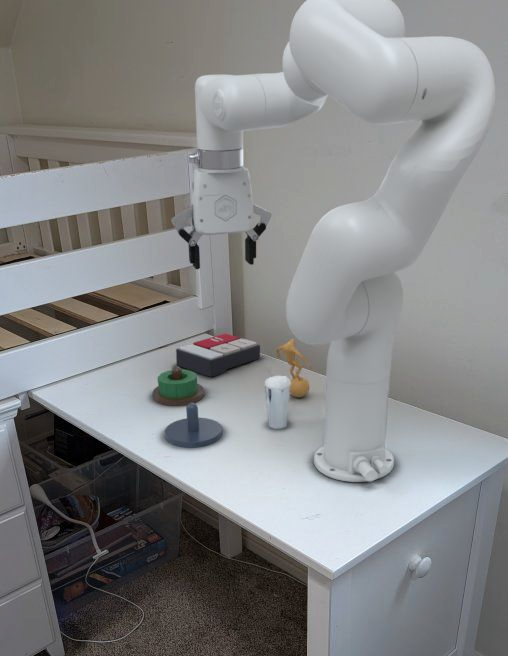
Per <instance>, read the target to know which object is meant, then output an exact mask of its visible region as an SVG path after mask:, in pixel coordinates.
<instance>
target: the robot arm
mask: <svg viewBox="0 0 508 656" xmlns="http://www.w3.org/2000/svg"><path fill="white" fill-rule="evenodd" d="M405 35H406V23H405V18H404V15H403V14H402V11H401V10H400V8H399V7H398V5H397V4H396V3H395V2H394V1H393V0H305V1H304V2H303V3H302V4H301V5H300V7H299V8H298V9H297V11H296V12H295V14H294V17H293V18H292V21H291V24H290V27H289V36H288V41H287V44H286V46H285V47H284V49H283V53H282V59H281V65H282V66H281V67H282V71H279V72H274V73H273V72H270V73H269V72H268V73H250V74H249V73H248V74H238V75H236V74H235V75H234V74H224V73H223V74H222V73H221V74H205V75H201V76H199V77H198V78H197V79H196V81H195V83H194V103H195V125H196V127H195V129H196V130H195V131H196V149H195V152H193V153H189V154H188V162H189V164H195V165H196V166H197V168H195V169H194V170H193V175H192V176H193V177H192V184H191V201H190V202H191V203H190V204H191V205H190V206H189V207H187V208H186V209H184V210H182V211H181V212H179V213H178V214H176V215H174V216H173V217H172V218H171V223H172V225H173V227H174V229H175V230H176V232H177V234H178V236H180V237H181V238H182V239H183V240H184V241H185V242H186V243H187V244H188V260H189V261H188V262H189V264H191V265H192V266H193V268H194V269H195V270H200V269H201V257H200V255H201V254H200V246H199V245H198V242H199V240H200V239H201V238H202V237H203V235H205V236H213V235H214V236H215V235H227V234H240V233H245V234H246V237H245V239H244V260H245V262H246V263H247V264H249V265H254V263H255V262H254V261H255V259H256V258H257V241H259V238H260V236H261V235H262V234H263V233H264V232H265V231H266V229H267V226H268V225H269V223H270V220H271V218H272V213H271V212H270V211H269V210H266V209H264V208H263V207H261V206H259V205H256V204H255V203H254V199H253V191H252V182H251V176H250V175H251V174H250V170H249V168H248V167H245V166H244V132H247V131H254V130H264V129H276V128H283V127H288V126H290V125H292V124H295V123H297V122H299V121H301V120H304V119H306V118H308V117H310V116H312V115H314V114H315V113H316V114H317V112H319V111H320V110H321V109H322V107H323V106H324V105H325V103H326V101H327V99H328V97H330V98H331V99H333V100H334V101H335V102H337V103H338V104H339V105H340V106H341V107H343V109H345V110H347V111H348V113H350V114H351V115H353V116H355V117H356V118H358V119H359V120H361V121H363V122H365V123H369V124H373V125H392V124H403V123H411V122H419V121H421V124H420V125H419V126H418V128H417V129H416V131H415V132H414V133H413V134H412V135H411V136H410V137H409V138H408V139H407V140H406V141H405V142H404V144H403V145H402V146H401V147H400V149H399V150H398V151H397V152H396V154H395V155H394V157H393V159H392V160H391V162H390V164H389V167H388V169H387V172H386V174H385V176H384V179H383V180H382V182H381V184H380V186H379V187H378V189H377V191H376V192H375V194H374V195H373V196H371V197H369V198H367V199H365V200H363V201H357V202H351V203H346V204H343V205H340V206H336V207H335V208H332V209H330V211H328V212H326V213H325V214H323V216H322V217H321V218H320V219H319V220H318V221H317V223H315V226H313V227H314V228H313V229H312V232H311V234H310V236H309V237H308V240H307V243H306V246H305V248H304V251H303V253H302V255H301V258H300V261H299V263H298V266H297V268H296V271H295V272H294V275H293V278H292V281H291V284H290V286H289V289H288V291H287V292H288V293H287V295H286V301H285V317H286V322H287V325H288V329H289V330H290V332H291V333H292V335H293V336H294V337H295V338H296V339H297V340H298V341H300V342H301V343H303V344H307V345H310V346H311V345H312V346H321V345H326V344H329V347H328V352H327V356H326V370H325V399H324V400H325V401H324V402H325V405H324V406H325V407H324V441H323V445H322V446H321V447H319V448H318V449H316V451H315V453H314V455H313V456H314V457H313V458H314V459H313V464H314V466H315V469H317V471H319V472H320V473H321V474H323V475H324V476H327V477H329V478H331V479H334V480H337V481H342V482H350V483H362V482H368V483H369V482H370V483H371V482H373V481H374V482H375V480H378V479H382V478H383V477H385V476H387V475H388V474H389V473H391V471H392V470H394V469H393V468H394V465H395V458H394V455H393V454H392V452H391V451H390V450H389V449H387V448H386V439H387V424H388V411H389V398H390V385H391V373H392V361H393V360H392V358H393V349H394V343H395V337H396V332H397V328H398V324H399V321H400V318H401V314H402V308H403V303H404V290H403V284H402V282H401V279H400V277H399V276H398V273H396V272H399V271H402V270H404V269H406V268H408V267H410V266H412V265H413V264H414V263H415V262H416V261H417V260H418V258H419V257H420V256H421V254H422V252H423V251H424V249H425V247H426V245H427V243H428V242H429V240H430V237H431V236H432V234H433V232H434V230H435V228H436V227H437V225H438V223H439V221H440V220H441V218H442V215H443V214H444V212H445V210H446V208H447V206H448V204H449V202H450V200H451V199H452V196H453V194H454V192H455V191H456V189H457V187H458V185H459V184H460V182H461V181H462V179H463V177H464V175H465V174H466V172H467V171H468V169H469V168H470V166H471V164H472V163H473V161H474V159H475V157H476V156H477V154H478V152H479V151H480V149H481V147H482V145H483V144H484V142H485V139H486V138H487V135H488V133H489V131H490V127H491V124H492V121H493V117H494V113H495V107H496V82H495V75H494V71H493V69H492V65H491V62H490V61H489V59H488V57H487V56H486V54H485V53H484V51H483V50H482V49H481V47H479V46H477V45H476V44H474V43H473V42H471V41H469V40H466V39H463V38H460V37H454V36H444V35H438V36H437V35H436V36H435V35H432V36H431V35H430V36H415V37H413V36H412V37H409V36H408V37H406V36H405ZM255 215H256V216H257V215H258V216H259V221H258V223H257V224H256V225H255V226H254V223H255V220H254V219H255ZM190 218H191V226H192V229H191V230H190V232H188V231H187V230H185V228H184V225H183V223H184V222H186V221H187V220H189V219H190Z"/></svg>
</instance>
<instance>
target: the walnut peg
mask: <svg viewBox="0 0 508 656" xmlns="http://www.w3.org/2000/svg"><path fill="white" fill-rule="evenodd" d="M171 370H172V380H182V370H183V369H182V367H181V366H178V365H176V366H174V367H172V368H171ZM197 386H198V390H197V392H196V393H195V394H193V395H191V396H189V397H184V398H167V397H164V396H162V395H160V393H159V388H158V386H156V387H155V388H153V390H152V399H153V401H155V402H156V403H157V404H160V405H163V406H168V407H169V406H171V407H180V406H187V405H188V404H189V403H195V404H196V403H197V402H200V401H201V400H202V399H203V398H204V396H205V388H204V386H203V385H202V384H200V383H197Z"/></svg>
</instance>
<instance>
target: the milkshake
mask: <svg viewBox="0 0 508 656" xmlns="http://www.w3.org/2000/svg"><path fill="white" fill-rule="evenodd" d="M267 369H268V374H269V377H268V378H266V380H265V381H264V392H265V401H266V408H267V409H266V411H267V420H268V427H269V428H271V429H275V430H283V429H284V428H286V427H287V426H288V418H289V406H290V405H289V404H290V396H291V393H290V387H291V379H290V378H288V376H287V375H275V376H273V374H272V369H271V367H270V366H268V367H267Z"/></svg>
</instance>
